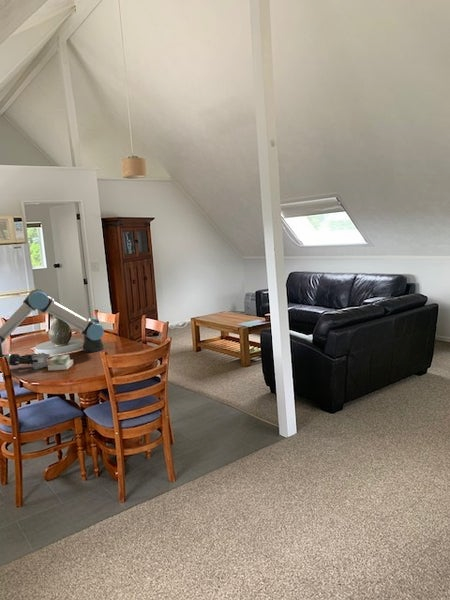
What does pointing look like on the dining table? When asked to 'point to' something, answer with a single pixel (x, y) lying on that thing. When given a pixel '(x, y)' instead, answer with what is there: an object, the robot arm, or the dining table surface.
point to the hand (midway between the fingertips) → (46, 358)
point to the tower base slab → (61, 366)
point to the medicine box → (40, 365)
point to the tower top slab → (59, 360)
